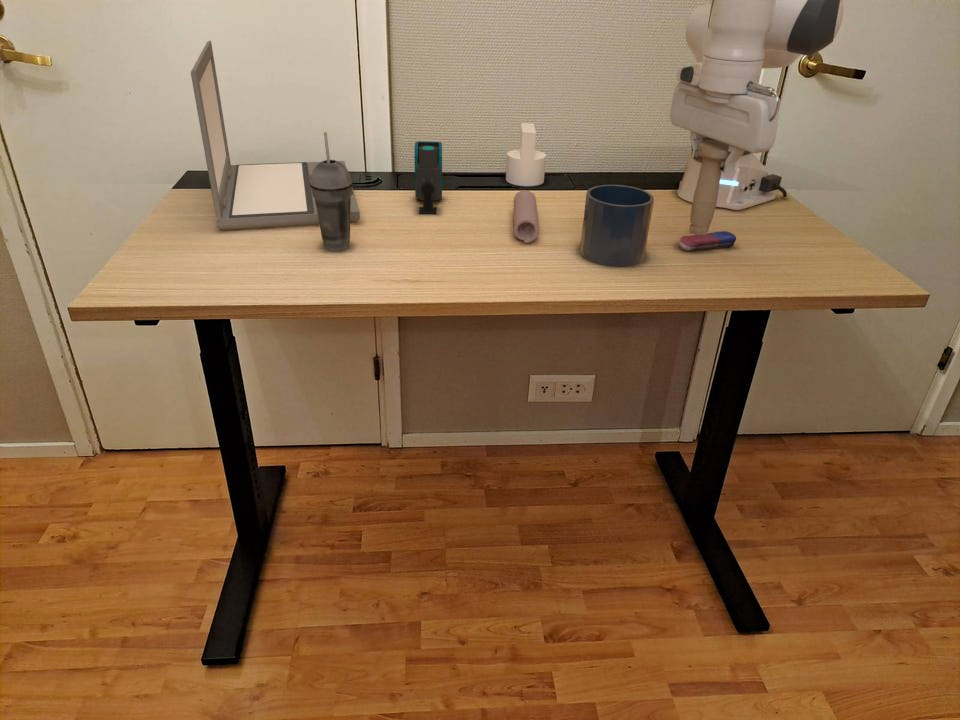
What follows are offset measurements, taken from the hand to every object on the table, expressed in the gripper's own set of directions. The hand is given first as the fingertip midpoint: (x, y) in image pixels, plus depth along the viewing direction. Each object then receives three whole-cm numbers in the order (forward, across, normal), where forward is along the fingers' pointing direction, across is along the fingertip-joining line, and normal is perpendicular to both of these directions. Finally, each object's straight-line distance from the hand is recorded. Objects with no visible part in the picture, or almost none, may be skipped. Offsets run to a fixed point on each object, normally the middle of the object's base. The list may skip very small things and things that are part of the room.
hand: (711, 166), depth 114 cm
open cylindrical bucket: (+18, +10, +10) cm, 23 cm away
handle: (+12, 0, 0) cm, 12 cm away
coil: (+18, +28, +19) cm, 38 cm away
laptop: (+17, +60, +57) cm, 85 cm away
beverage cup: (+17, +32, +56) cm, 66 cm away
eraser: (+18, +6, -8) cm, 21 cm away
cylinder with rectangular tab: (+18, +54, +4) cm, 57 cm away
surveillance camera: (+18, +46, +32) cm, 58 cm away
